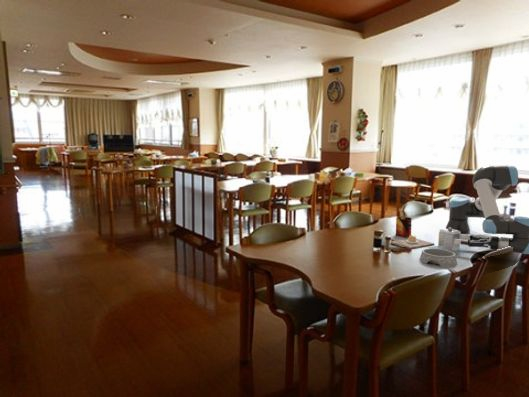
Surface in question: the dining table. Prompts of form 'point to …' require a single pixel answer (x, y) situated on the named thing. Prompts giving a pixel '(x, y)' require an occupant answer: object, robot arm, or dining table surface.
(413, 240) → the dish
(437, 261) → the dog bowl
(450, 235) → the steel cover
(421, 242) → the walnut board
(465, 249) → the teal mat
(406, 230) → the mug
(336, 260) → the dining table surface
